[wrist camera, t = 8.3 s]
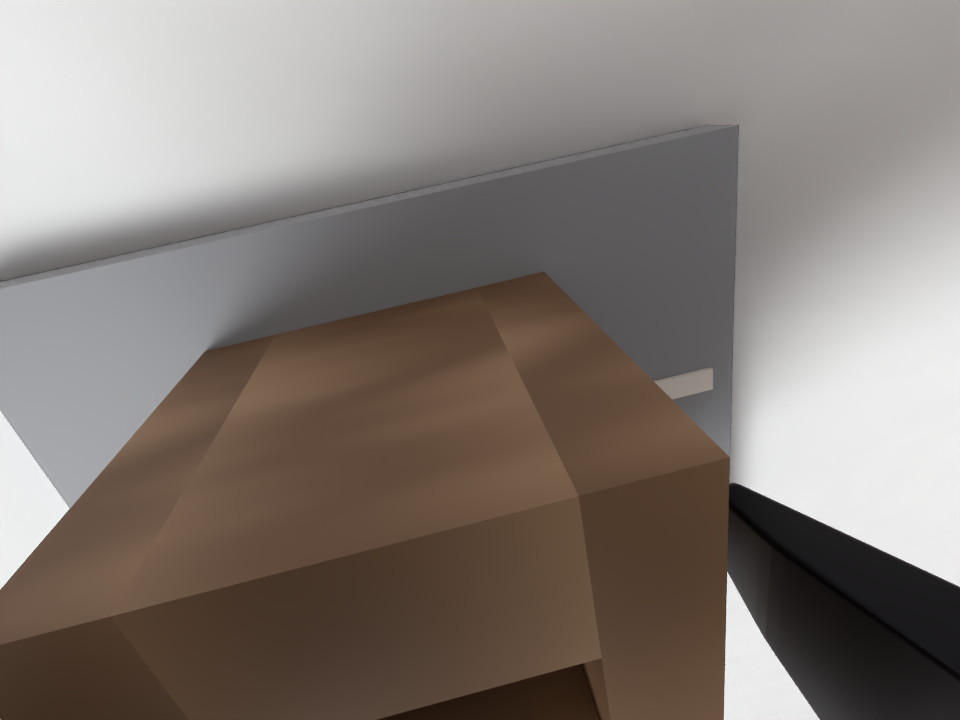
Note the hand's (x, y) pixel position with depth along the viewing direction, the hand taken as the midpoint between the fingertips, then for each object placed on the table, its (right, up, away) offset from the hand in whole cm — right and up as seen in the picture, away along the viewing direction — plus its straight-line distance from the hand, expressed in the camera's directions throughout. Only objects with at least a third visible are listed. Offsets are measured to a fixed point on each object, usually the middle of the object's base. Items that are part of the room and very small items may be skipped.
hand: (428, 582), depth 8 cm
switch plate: (-1, +2, +4) cm, 4 cm away
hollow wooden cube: (-1, +1, +3) cm, 4 cm away
